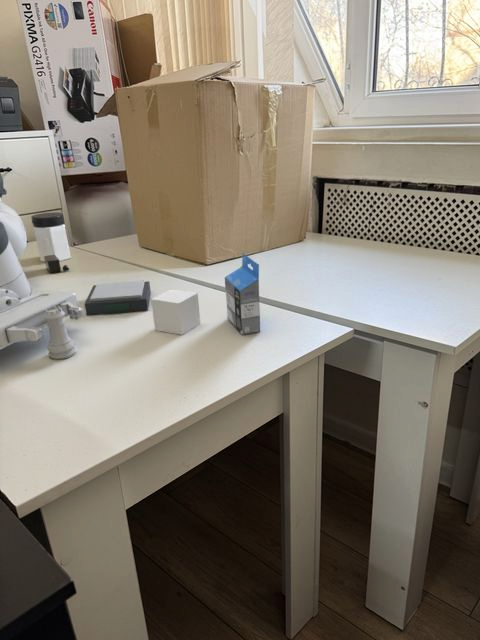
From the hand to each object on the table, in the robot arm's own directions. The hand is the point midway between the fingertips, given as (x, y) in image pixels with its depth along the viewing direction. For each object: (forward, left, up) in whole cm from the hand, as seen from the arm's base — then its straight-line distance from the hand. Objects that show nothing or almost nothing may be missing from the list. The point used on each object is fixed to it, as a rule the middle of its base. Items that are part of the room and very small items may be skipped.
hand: (60, 323), depth 82 cm
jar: (-16, +67, -6) cm, 69 cm away
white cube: (+18, +8, -6) cm, 21 cm away
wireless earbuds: (-13, +54, -6) cm, 56 cm away
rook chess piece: (-1, 0, -6) cm, 6 cm away
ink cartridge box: (+30, +6, -6) cm, 31 cm away
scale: (+6, +24, -5) cm, 26 cm away
